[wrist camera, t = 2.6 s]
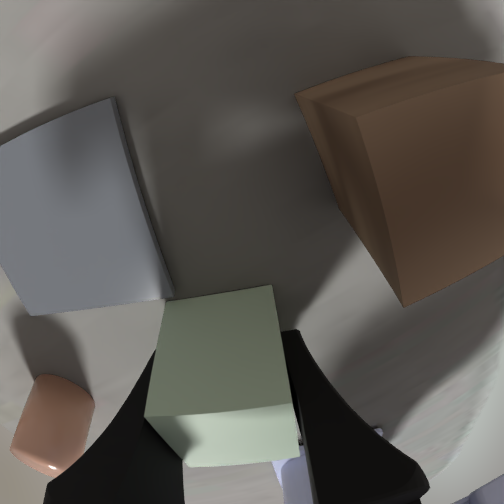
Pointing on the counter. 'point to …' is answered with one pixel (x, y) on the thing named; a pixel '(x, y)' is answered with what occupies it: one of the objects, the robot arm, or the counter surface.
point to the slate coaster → (77, 217)
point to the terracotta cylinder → (53, 425)
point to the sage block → (222, 381)
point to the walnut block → (416, 165)
